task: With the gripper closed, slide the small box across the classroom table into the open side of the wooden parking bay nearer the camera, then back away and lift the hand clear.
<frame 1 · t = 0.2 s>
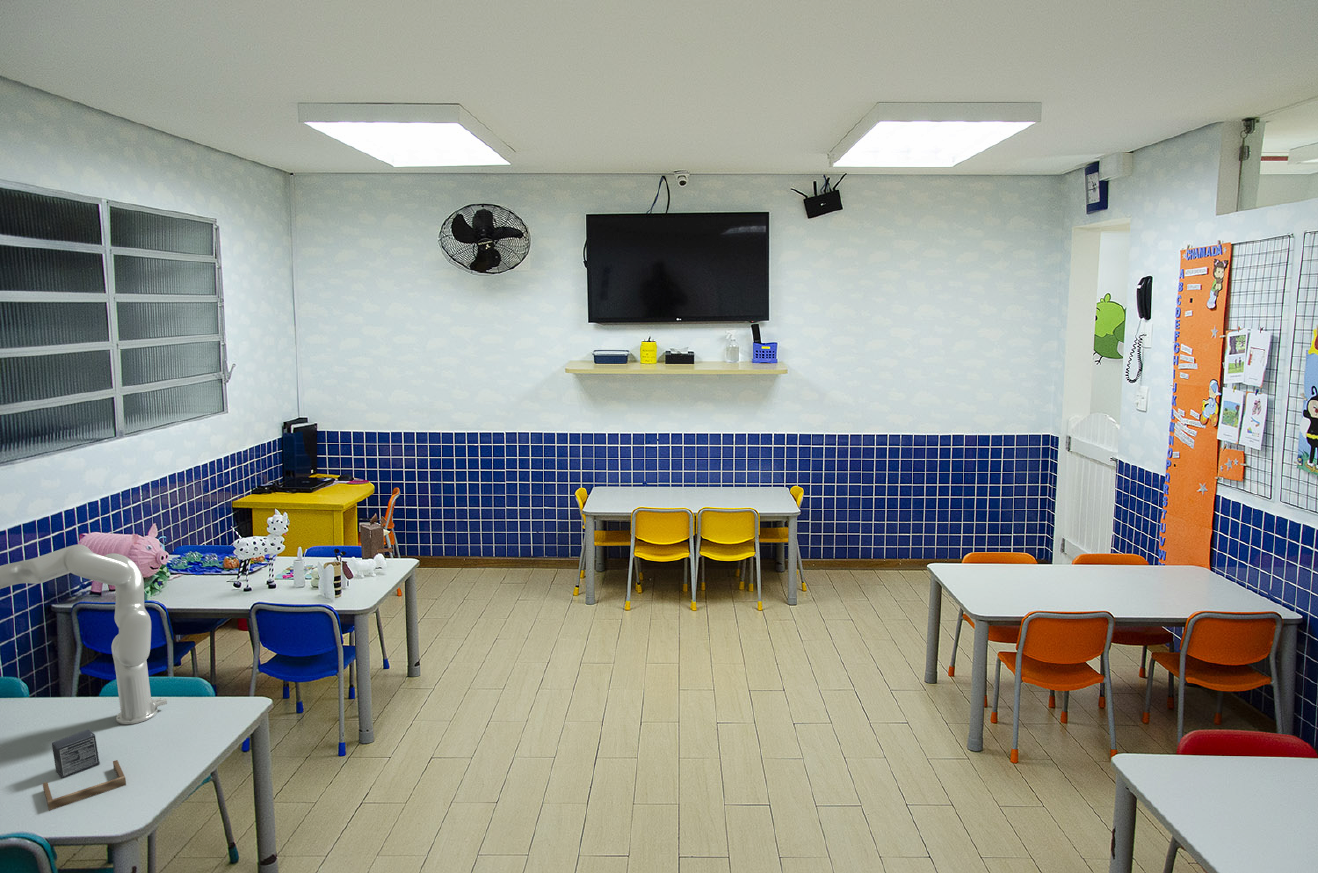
small box: (78, 769, 268), on the table
parking bay: (84, 787, 258), on the table
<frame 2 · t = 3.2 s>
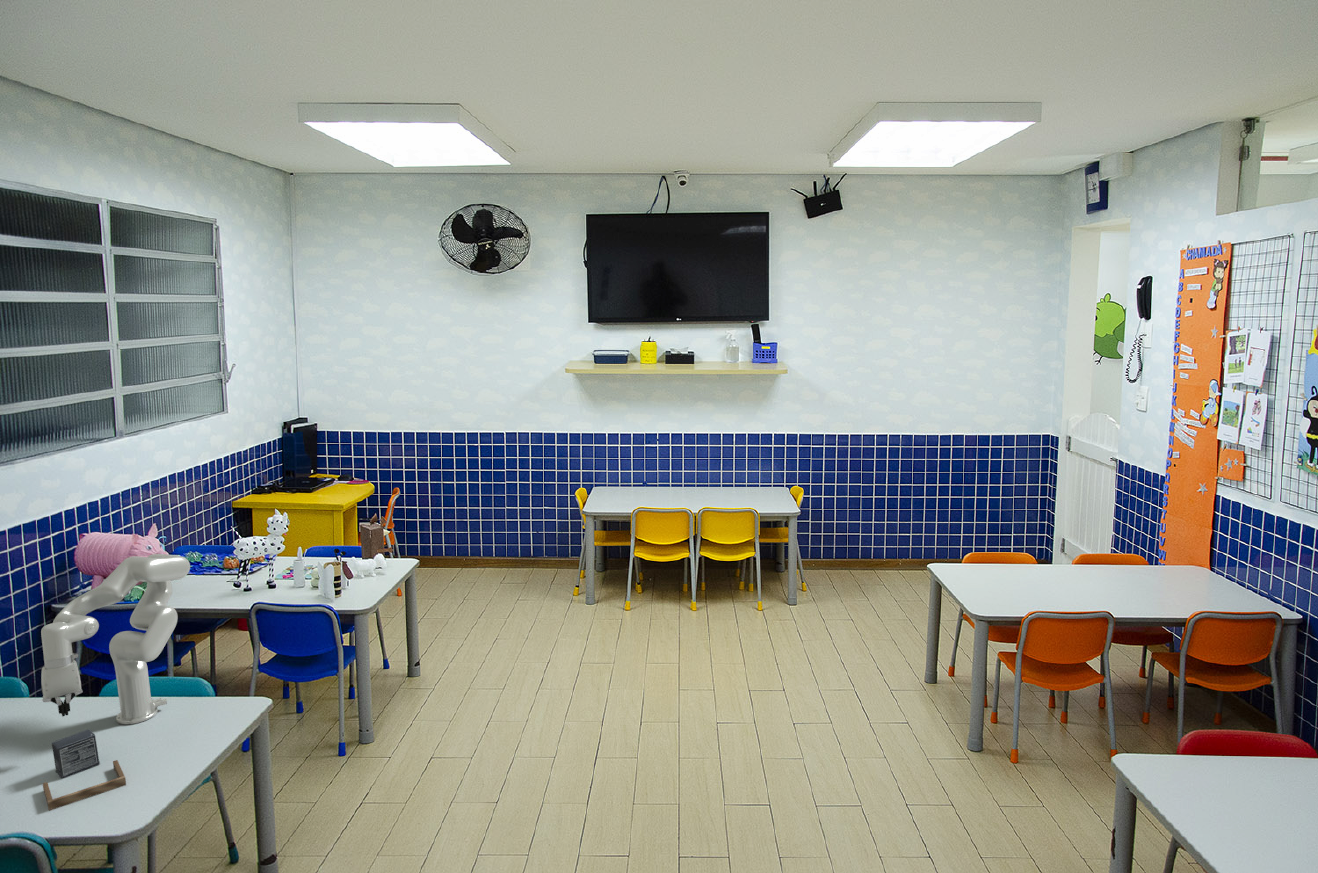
hand: (64, 714, 275), 14 cm above the table, fingers closed
nothing on the table moved.
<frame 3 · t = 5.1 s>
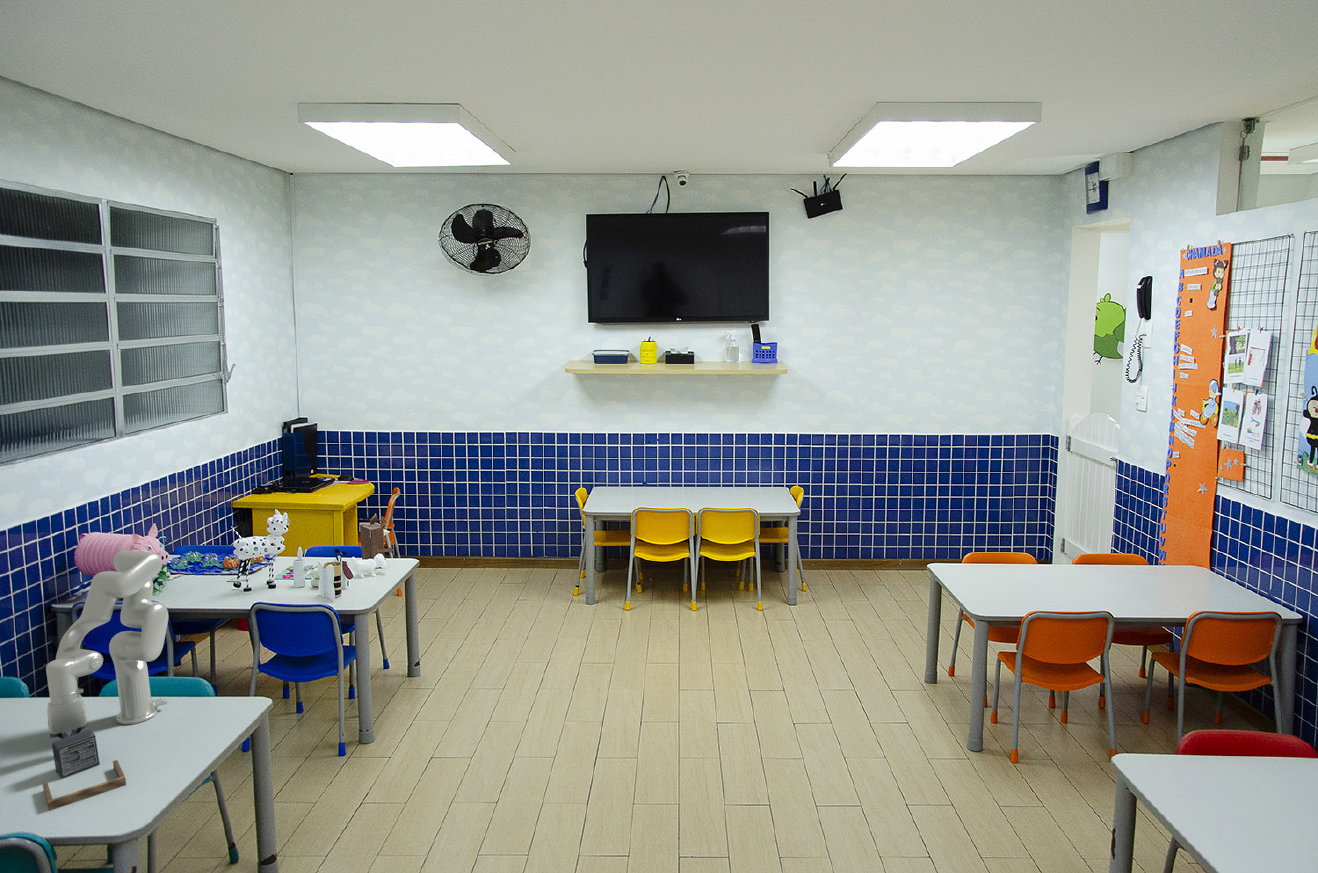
hand: (71, 748, 277), 2 cm above the table, fingers closed
nothing on the table moved.
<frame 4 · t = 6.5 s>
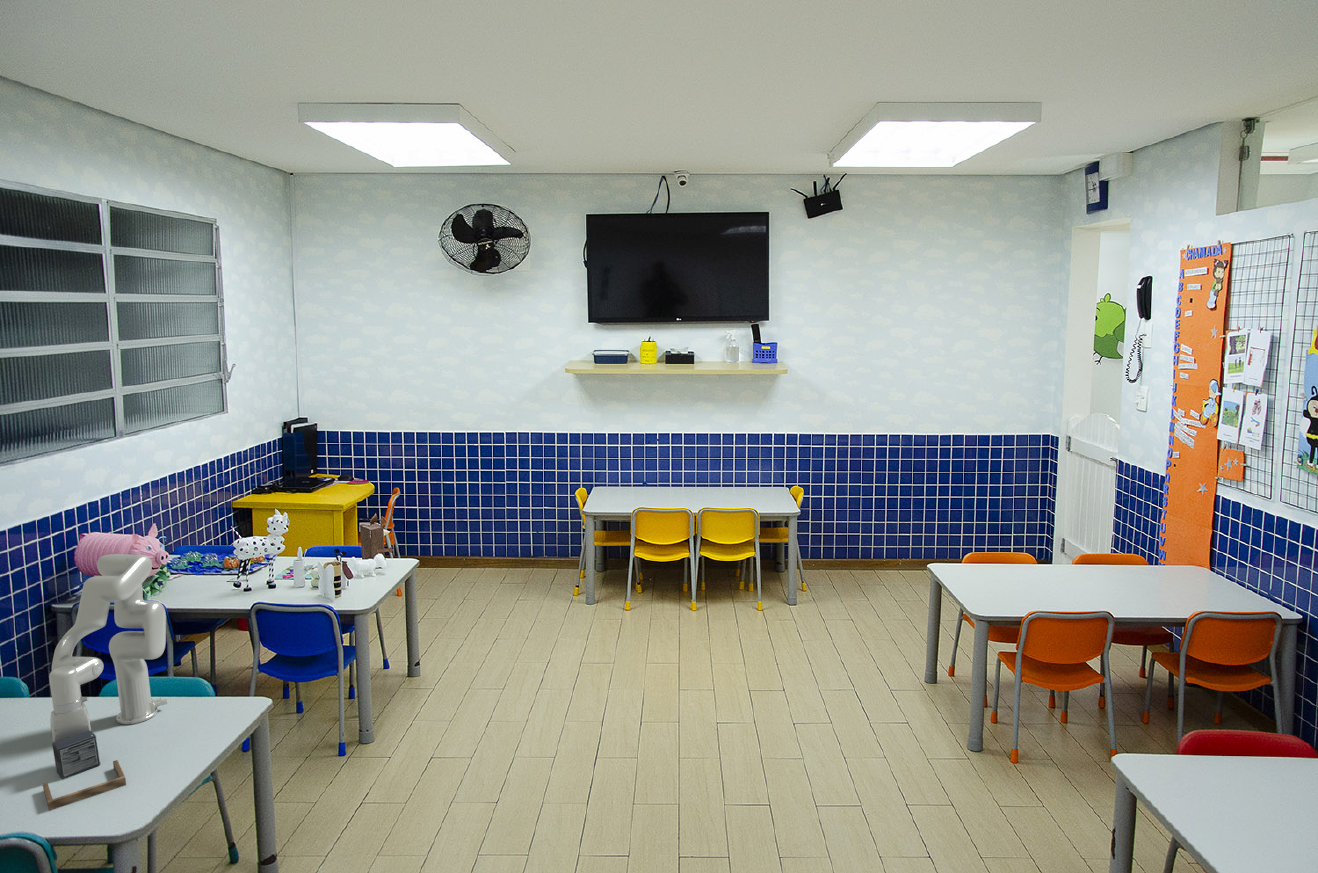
hand: (75, 758, 271), 2 cm above the table, fingers closed
small box: (78, 769, 268), on the table, touching gripper
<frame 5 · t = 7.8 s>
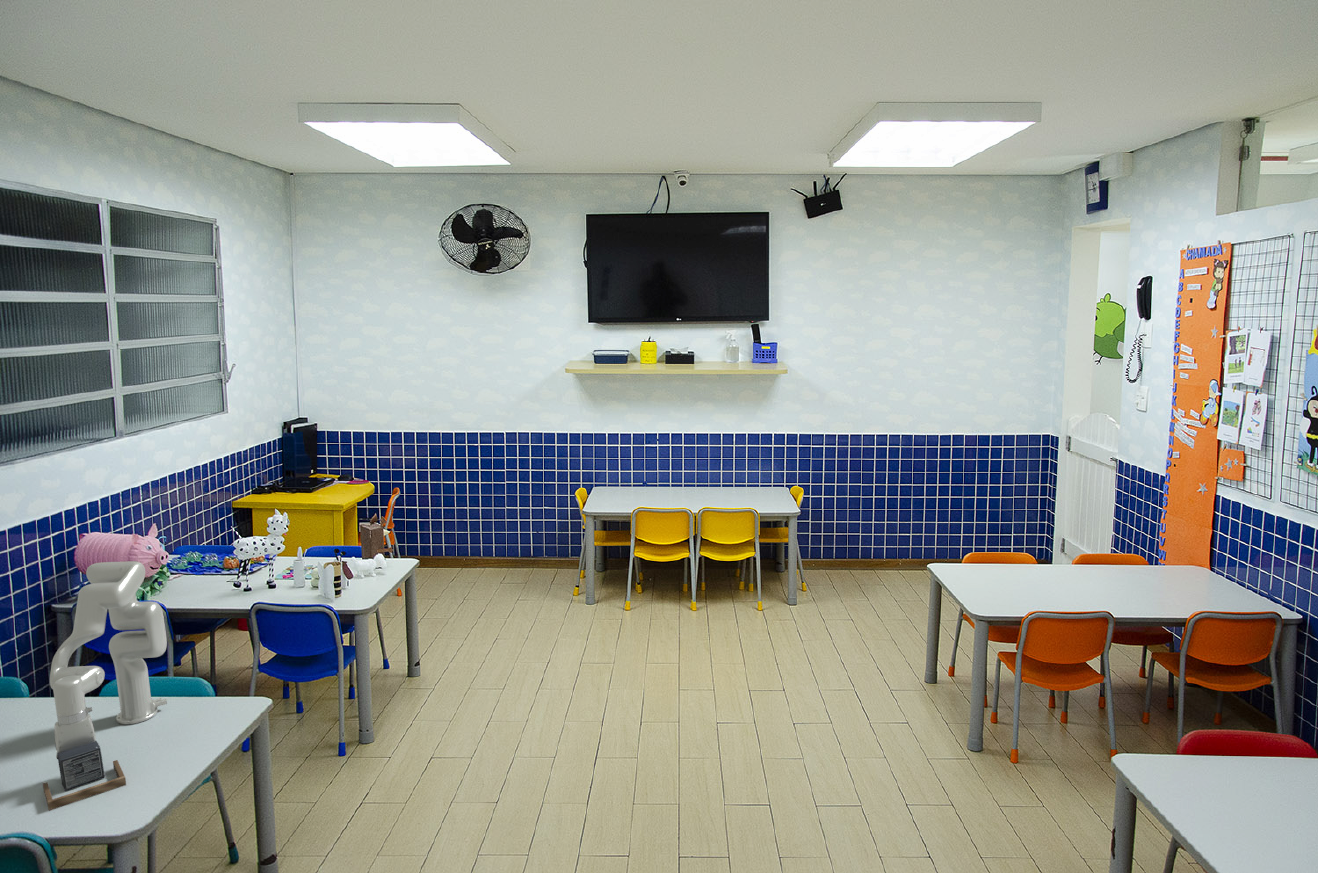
hand: (79, 770, 264), 2 cm above the table, fingers closed
small box: (83, 781, 261), on the table, touching gripper
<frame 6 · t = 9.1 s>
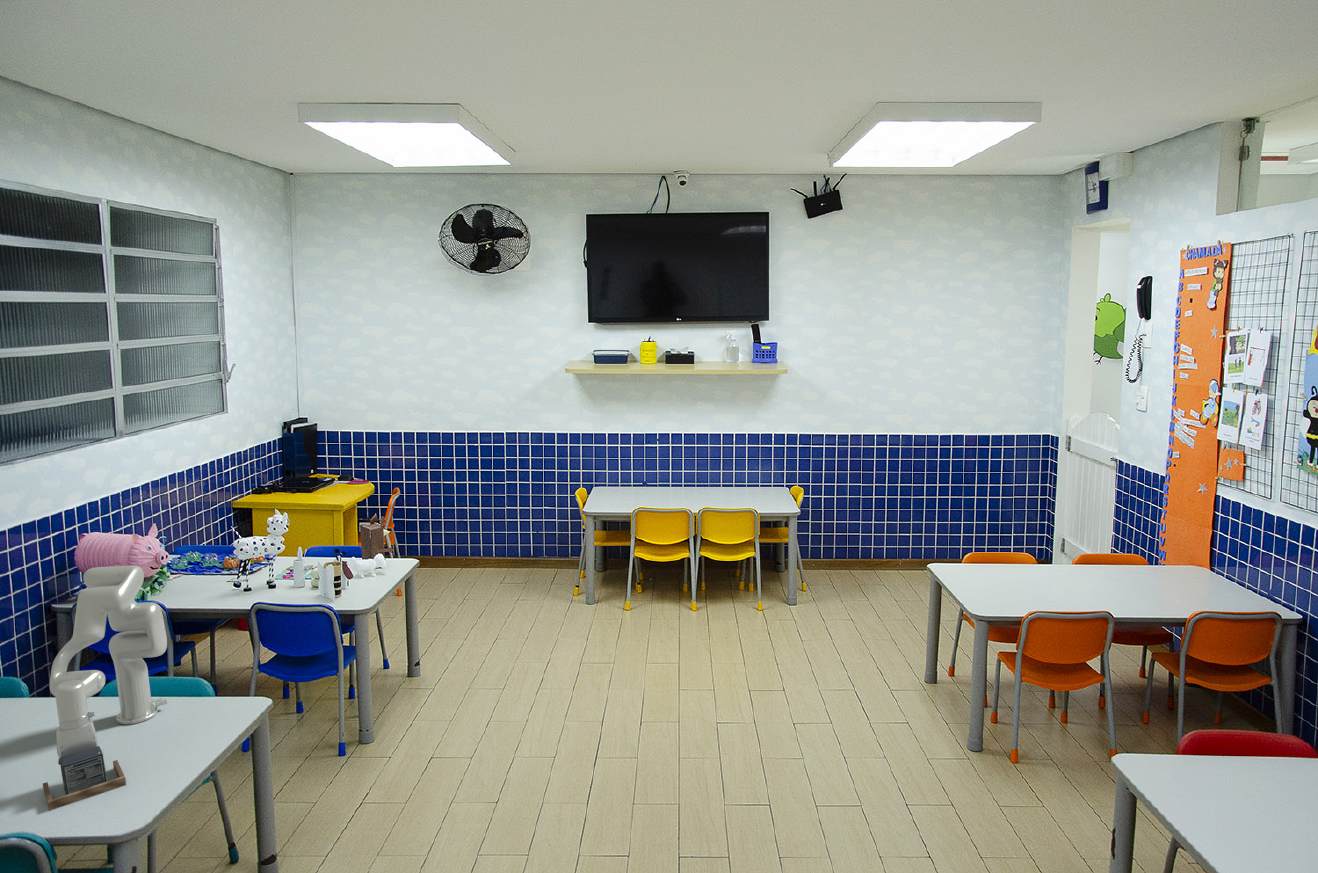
hand: (81, 775, 261), 1 cm above the table, fingers closed
small box: (85, 787, 258), on the table, touching gripper
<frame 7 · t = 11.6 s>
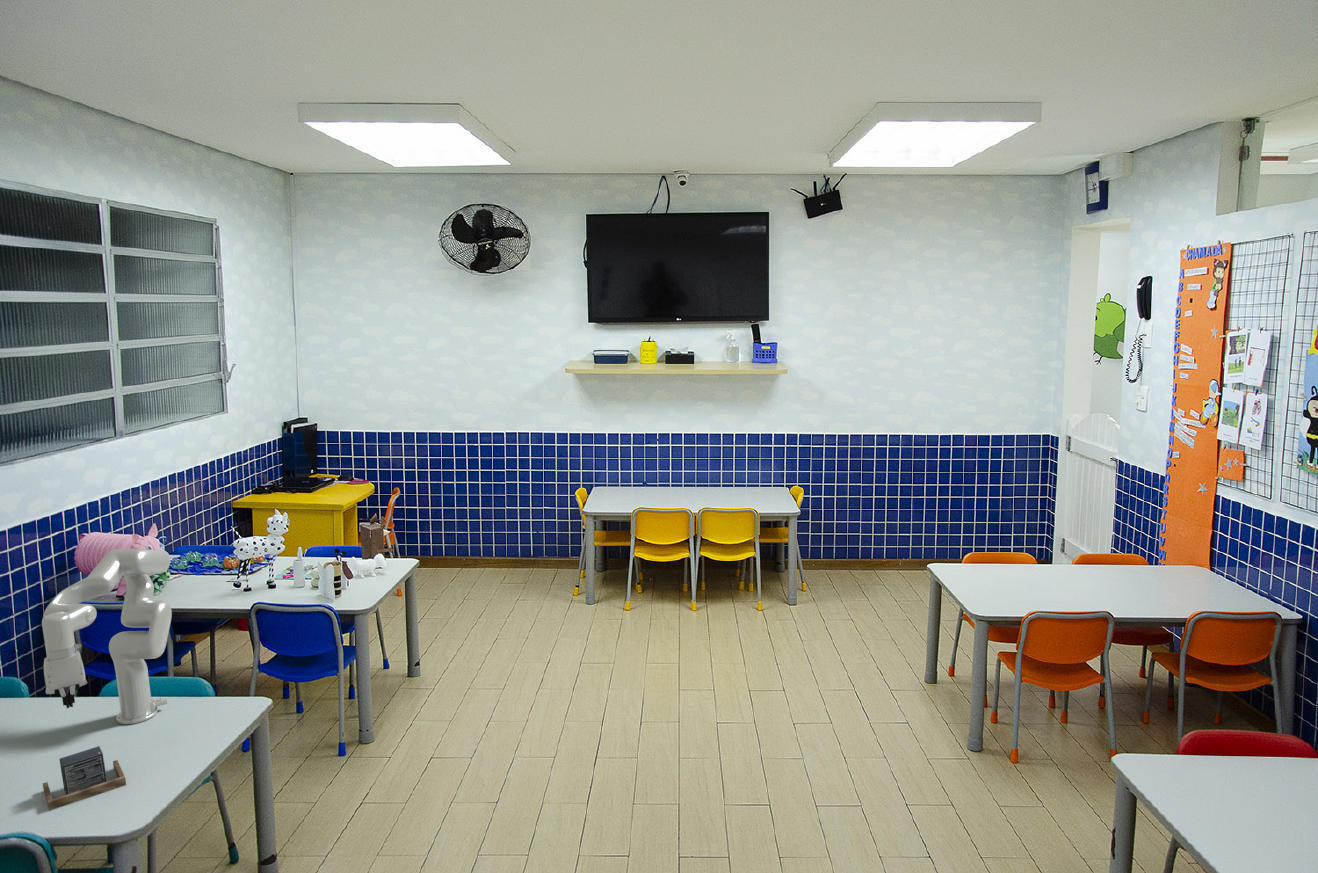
hand: (69, 706, 266), 20 cm above the table, fingers closed
small box: (85, 787, 258), on the table
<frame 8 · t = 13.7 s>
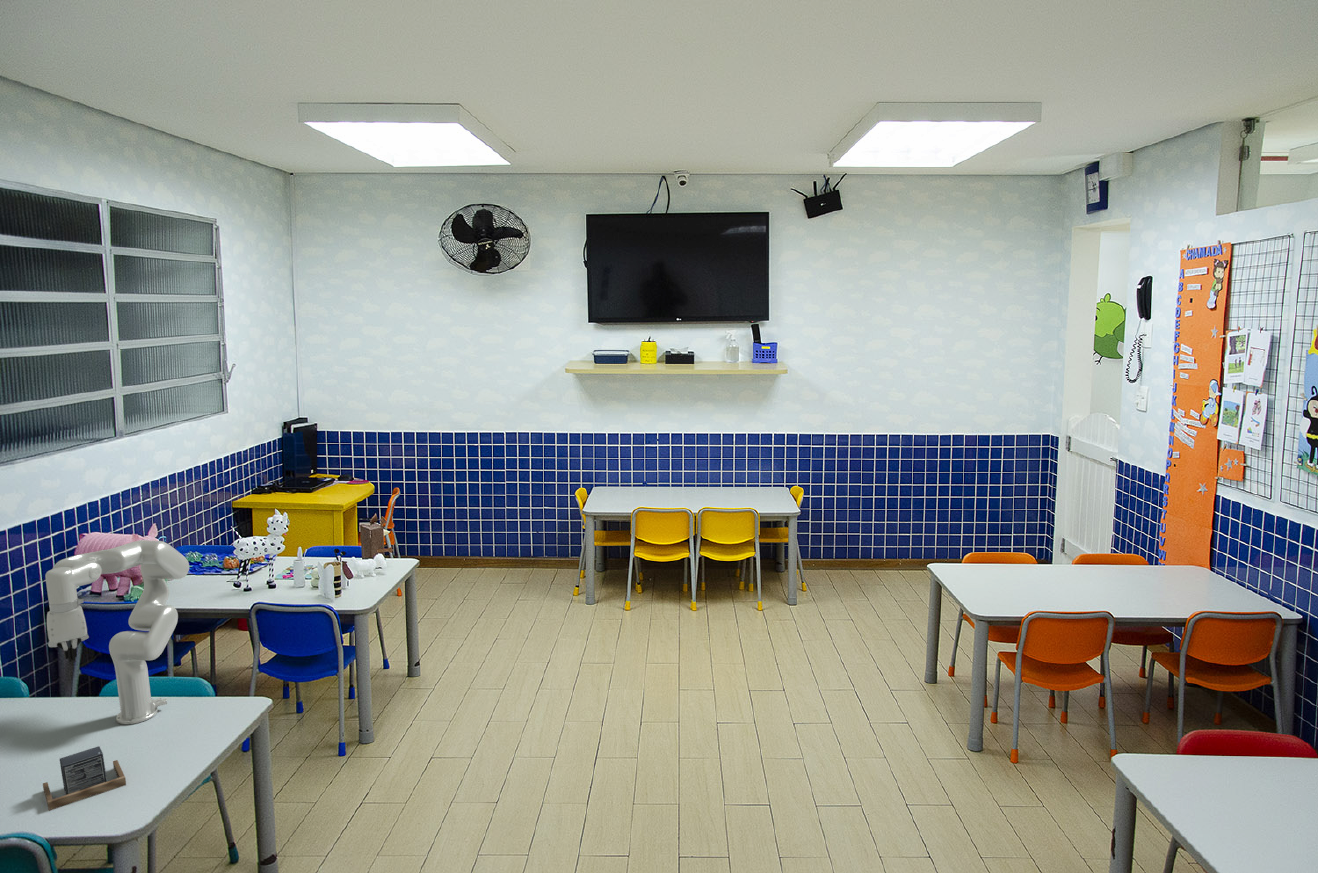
hand: (71, 659, 273), 32 cm above the table, fingers closed
nothing on the table moved.
at the end: small box inside the target area (0.4 cm from its centre), on the table; small box tilted 0°; the gripper is holding nothing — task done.
